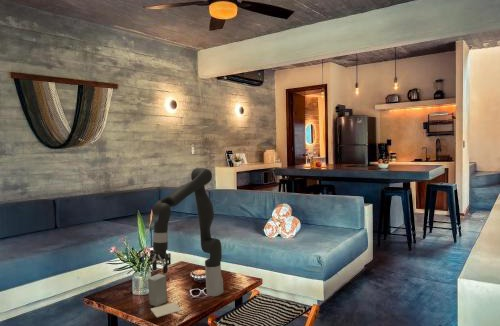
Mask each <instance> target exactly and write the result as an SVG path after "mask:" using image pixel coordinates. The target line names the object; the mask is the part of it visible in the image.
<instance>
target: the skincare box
mask: <svg viewBox="0 0 500 326" xmlns="http://www.w3.org/2000/svg"><path fill="white" fill-rule="evenodd" d="M147 283H148V285H147V286H148V299H149V301H148V302H149V305H150V306H153V307H154V308H155V307H159V306H162V305H164V304H166V303H167V302H168V291H167V288H168V287H167V276H166V275H165V274H163V273H157V274H155V275H152V276H150V277H148V278H147Z"/></svg>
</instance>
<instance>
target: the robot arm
mask: <svg viewBox="0 0 500 326" xmlns="http://www.w3.org/2000/svg"><path fill="white" fill-rule="evenodd" d="M190 176H191V177H190V178H191V181H189V182H188V183H184V185H180V186H179V187H177V188H175V189H174V190H173V191H172V192H171V193H169V194H168V195H167V196H165V197H163V198H161V199H159V200H158V201H157V202H155V203H154V204H153V206H152V213H153V214H154V215H155V216H156V217H157V216H158V218H157V220H156V221H154V224H153V238H152V249H151V250H150V251H149V262H150V263H151V265H152V266H151V267H152V268H151V269H152V271H154V272H155V271H157V267H158V265H157V264H158V263H157V262H158V261H160V263H161V264H162V266H163V267H162V274H163V275H165V274H167V273H168V267H169V266H171V264H172V263H171V261H172V258H171V257H172V255H171V253H169V252H168V253H167V250H168V248H169V247H168V246H169V234H168V232H169V231H168V228H169V227H168V226H169V221H170V217H171V213H172V209H171V208H173V207H174V208H175V207H176V206H178V205H179V204H180V203H181V202H182V201H184V200H186V198H187V197H189V196H190V195H192V194H193V193H194V196H195V202H196V210H197V211H196V212H197V217H198V224H199V232H200V233H199V234H200V235H199V236H200V248H201V251H202V252H203V253H205V254H209V258H207V259H205V261H204V269H205V270H204V271H205V290H206V295H207V296H209V297H217V296H221V295H222V294H224V278H223V276H222V267H221V266H222V265H221V263H222V257H223V256H222V254H223V253H222V250H223V249H222V242H221V240H220V239H218V238H215V237H212V235H211V226H212V224H213V221H214V217H215V214H214V213H215V211H214V206H213V203H212V201H211V199H210V197H209V195H208V194H207V190H206V187H205V186H206V185H208V184H209V183H210V182H211V181H212V178H213V174H212V172H211V170H210V169H209V168H203V167H195V168H194V169H193V170H192V171H191V175H190Z"/></svg>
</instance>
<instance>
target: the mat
mask: <svg viewBox="0 0 500 326" xmlns="http://www.w3.org/2000/svg"><path fill="white" fill-rule="evenodd" d="M150 311H151V313H152V314H154V316H155V318H160V317H163V316H167V315H170V314H171V315H172V314H175V313H178V312H182V311H183V308H181V307H180V305H178V304H177V302H171V303H165V304H161V305H159V306H157V307H155V306H154V307H151V308H150Z"/></svg>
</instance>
